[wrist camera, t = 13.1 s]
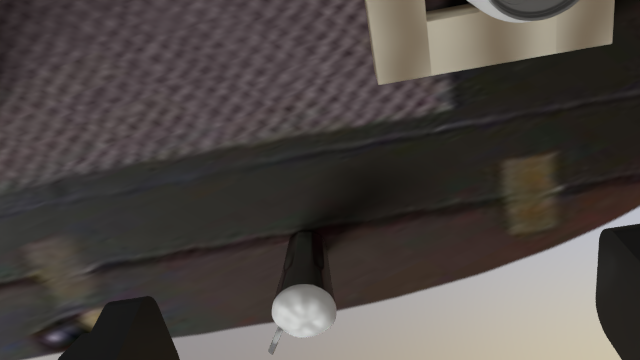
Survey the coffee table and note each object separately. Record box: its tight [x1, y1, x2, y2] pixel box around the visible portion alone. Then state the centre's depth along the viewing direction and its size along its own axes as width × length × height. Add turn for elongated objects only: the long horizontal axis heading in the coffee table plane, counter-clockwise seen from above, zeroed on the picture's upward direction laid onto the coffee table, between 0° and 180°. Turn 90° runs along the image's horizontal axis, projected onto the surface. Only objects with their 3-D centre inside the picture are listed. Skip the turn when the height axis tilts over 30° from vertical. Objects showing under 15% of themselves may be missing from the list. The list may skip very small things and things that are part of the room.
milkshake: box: [268, 231, 336, 354], centre depth 41 cm, size 5×5×10 cm
